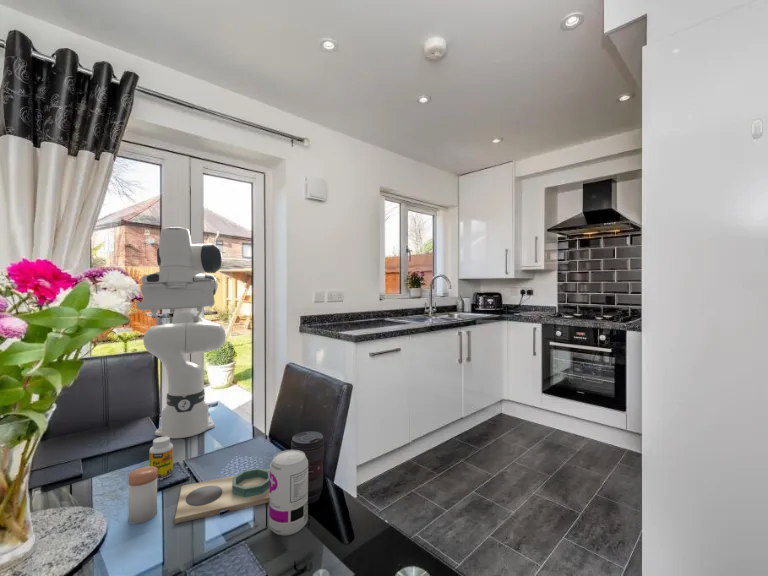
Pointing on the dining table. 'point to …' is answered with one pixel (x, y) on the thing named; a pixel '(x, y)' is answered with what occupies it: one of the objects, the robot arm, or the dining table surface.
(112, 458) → the dining table surface
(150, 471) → the lidded canister
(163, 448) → the supplement bottle
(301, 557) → the dining table surface
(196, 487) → the seat board
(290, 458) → the supplement can
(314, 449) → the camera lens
